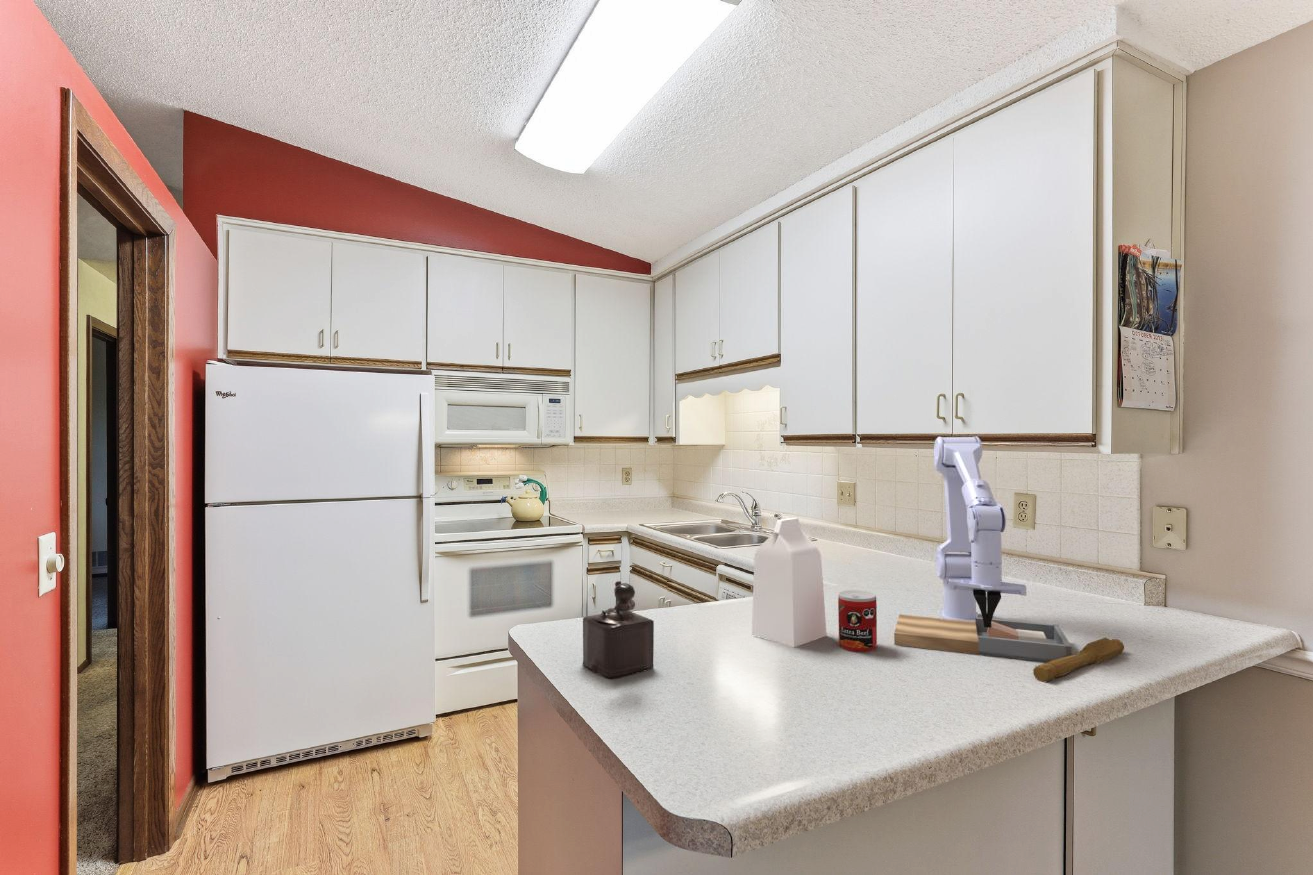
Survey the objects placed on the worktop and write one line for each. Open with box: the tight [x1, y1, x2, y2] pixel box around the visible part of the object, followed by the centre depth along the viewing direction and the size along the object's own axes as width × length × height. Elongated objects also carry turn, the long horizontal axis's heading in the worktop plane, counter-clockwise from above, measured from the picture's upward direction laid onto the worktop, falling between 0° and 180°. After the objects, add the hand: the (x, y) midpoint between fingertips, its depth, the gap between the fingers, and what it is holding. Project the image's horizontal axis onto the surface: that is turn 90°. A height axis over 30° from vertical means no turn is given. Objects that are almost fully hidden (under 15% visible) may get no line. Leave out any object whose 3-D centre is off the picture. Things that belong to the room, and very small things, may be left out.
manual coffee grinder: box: [582, 580, 655, 679], centre depth 123 cm, size 16×11×18 cm
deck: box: [893, 614, 979, 655], centre depth 140 cm, size 16×16×2 cm
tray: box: [975, 616, 1073, 663], centre depth 134 cm, size 16×16×4 cm
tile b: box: [1016, 629, 1047, 643], centre depth 133 cm, size 5×5×2 cm
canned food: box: [837, 589, 878, 653], centre depth 136 cm, size 8×8×11 cm
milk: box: [751, 517, 828, 648], centre depth 144 cm, size 12×12×26 cm
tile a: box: [987, 621, 1018, 640], centre depth 135 cm, size 5×5×2 cm
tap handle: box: [1032, 636, 1125, 683], centre depth 123 cm, size 3×3×30 cm
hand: (987, 626), depth 136 cm, fingers closed
